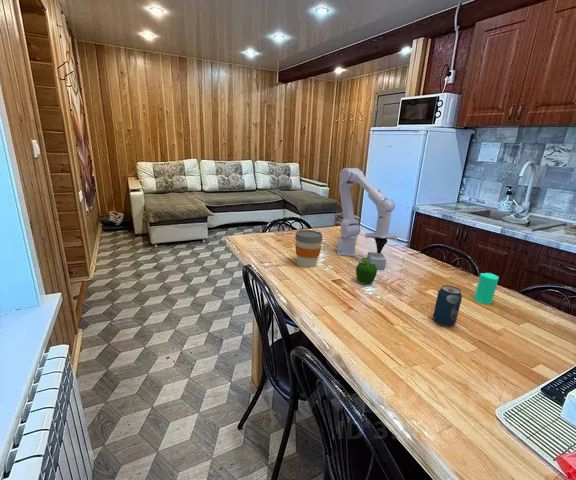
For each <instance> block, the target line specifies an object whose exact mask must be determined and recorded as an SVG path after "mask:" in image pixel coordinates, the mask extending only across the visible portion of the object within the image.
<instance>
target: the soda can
mask: <svg viewBox="0 0 576 480" xmlns="http://www.w3.org/2000/svg"><path fill="white" fill-rule="evenodd" d="M462 299H463V294H462V290H461V289H460V288H458V287H456V286H453V285H449V284H448V285H445V284H444V285H442V286H441V288H439V290H438V292H437V297H436V301H435V305H434V309H433V315H432V317H433V319H434V322H435V323H437V324H439V325H441V326H444V327H452V326H454V325H455V324H456V323H457V320H458V315H459V312H460V308H461V303H462Z"/></svg>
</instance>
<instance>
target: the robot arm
mask: <svg viewBox="0 0 576 480" xmlns="http://www.w3.org/2000/svg"><path fill="white" fill-rule="evenodd" d="M338 177H339V183H338V188H339V195H340V204H341V212H342V219H343V220H342V221H341V222H340V230H339V233H340V236H338V238H337V244H336V245H337V246H336V254H337V255H338V256H348V257H349V256H350V257H356V256H357V254H356V252H355V251H356V244H357V238H358V235H359V234H360V233H361V227H360V225H359V222H358V220H357V219H356V218H355V214H354V206H353V199H352V191H351V187H352V186H353V185H354V184H355V183H356V184H359V186H360V187H361V188H363V189H364V190H365V191H366V192H367V193H368V194H367V195H368V196H367V197H368V198H369V199H370V200H371V202H372V203H373V204H374V205H375V206H376V211H377V220H376V227H375V232H365V237H364V238H365V239H367V238H368V239H374V241H375V245H376V253H378V254H381V253H382V251H383V249H384V247H385V245H386V244H387V242H388V240H394V241H397V240H398V235H396V234H389V231H390V230H389V229H390V224H391V217H392V212H393V211H394V210H395V208H396V207H395V206H396V204H395V202H394V200H392V199H389V198H388V196H385V195H384V194H383V192H382V189H381V188H377V187H374V186H373V185H372V184H371V182H370V181H369V180H368V179H367V177H366V176H365V175H364V171H362V170H361V169H360V168H358V167H354V168H353V167H350V168H349V167H344V168H342V170H341V171H339V174H338Z"/></svg>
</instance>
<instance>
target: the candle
mask: <svg viewBox="0 0 576 480" xmlns="http://www.w3.org/2000/svg"><path fill="white" fill-rule="evenodd" d="M499 279H500V277H499V276H498V275H496V274H494V273H491V271H490V272H484V273H482V272H480V275H479V280H478V283H477V286H476V291H475V294H474V300H475V301H476V302H477V303H480V304H483V305H492V304H493V299H494V296H495V293H496V289H497V285H498V282H499ZM491 303H492V304H491Z"/></svg>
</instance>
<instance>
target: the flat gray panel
mask: <svg viewBox="0 0 576 480" xmlns="http://www.w3.org/2000/svg"><path fill="white" fill-rule="evenodd" d="M362 259H366V260H367V257H362ZM363 263H365V261H363ZM376 268H377V271H384V270H385V268H378V267H376Z"/></svg>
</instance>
